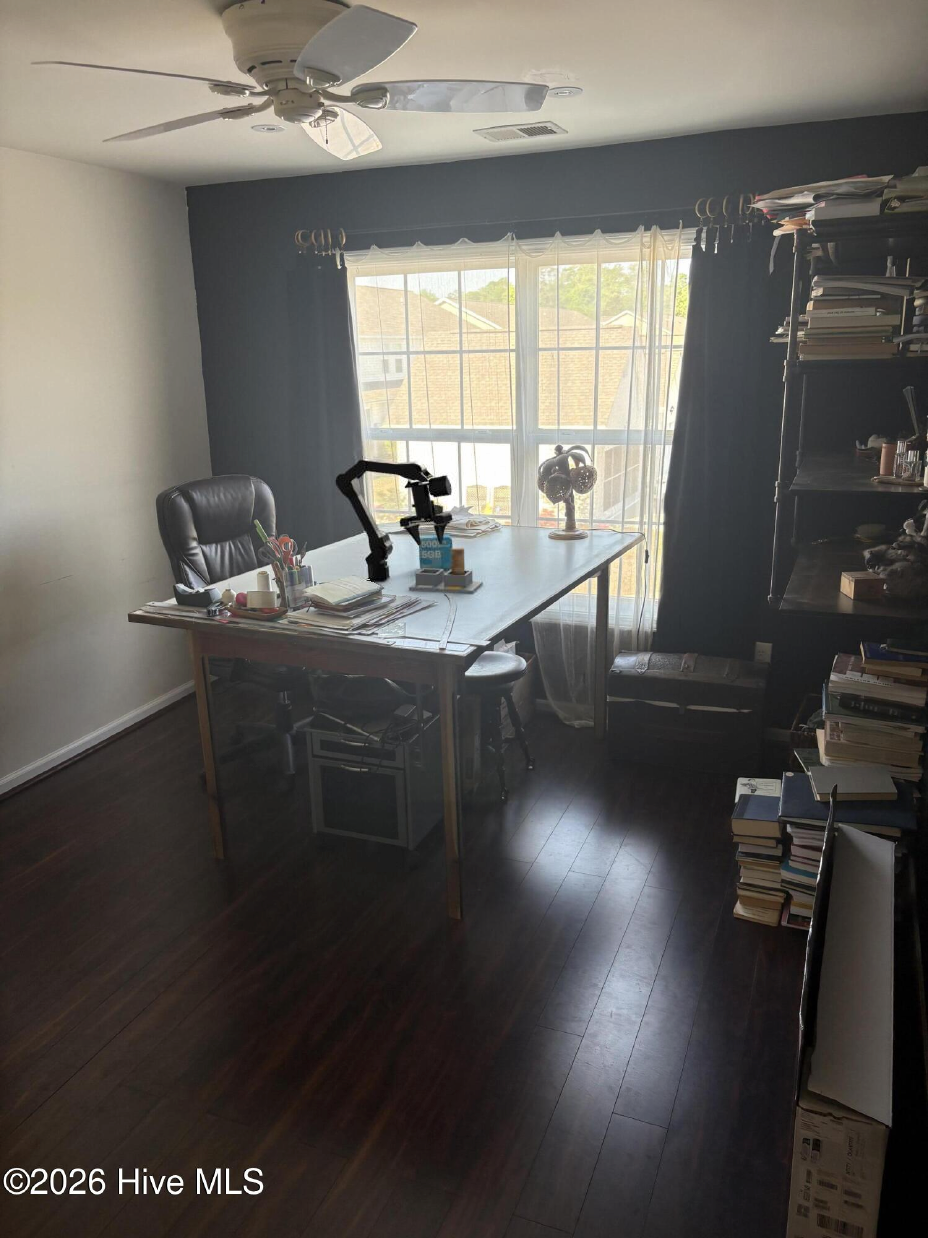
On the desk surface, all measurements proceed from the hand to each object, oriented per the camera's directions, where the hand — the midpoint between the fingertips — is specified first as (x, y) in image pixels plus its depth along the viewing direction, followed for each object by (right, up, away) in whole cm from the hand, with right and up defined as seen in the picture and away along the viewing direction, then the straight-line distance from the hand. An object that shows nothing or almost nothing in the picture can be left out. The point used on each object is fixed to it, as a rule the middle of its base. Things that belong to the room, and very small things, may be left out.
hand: (430, 544), depth 304 cm
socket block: (+6, -15, -5) cm, 17 cm away
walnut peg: (+10, -14, -6) cm, 18 cm away
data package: (+1, -7, +21) cm, 23 cm away
